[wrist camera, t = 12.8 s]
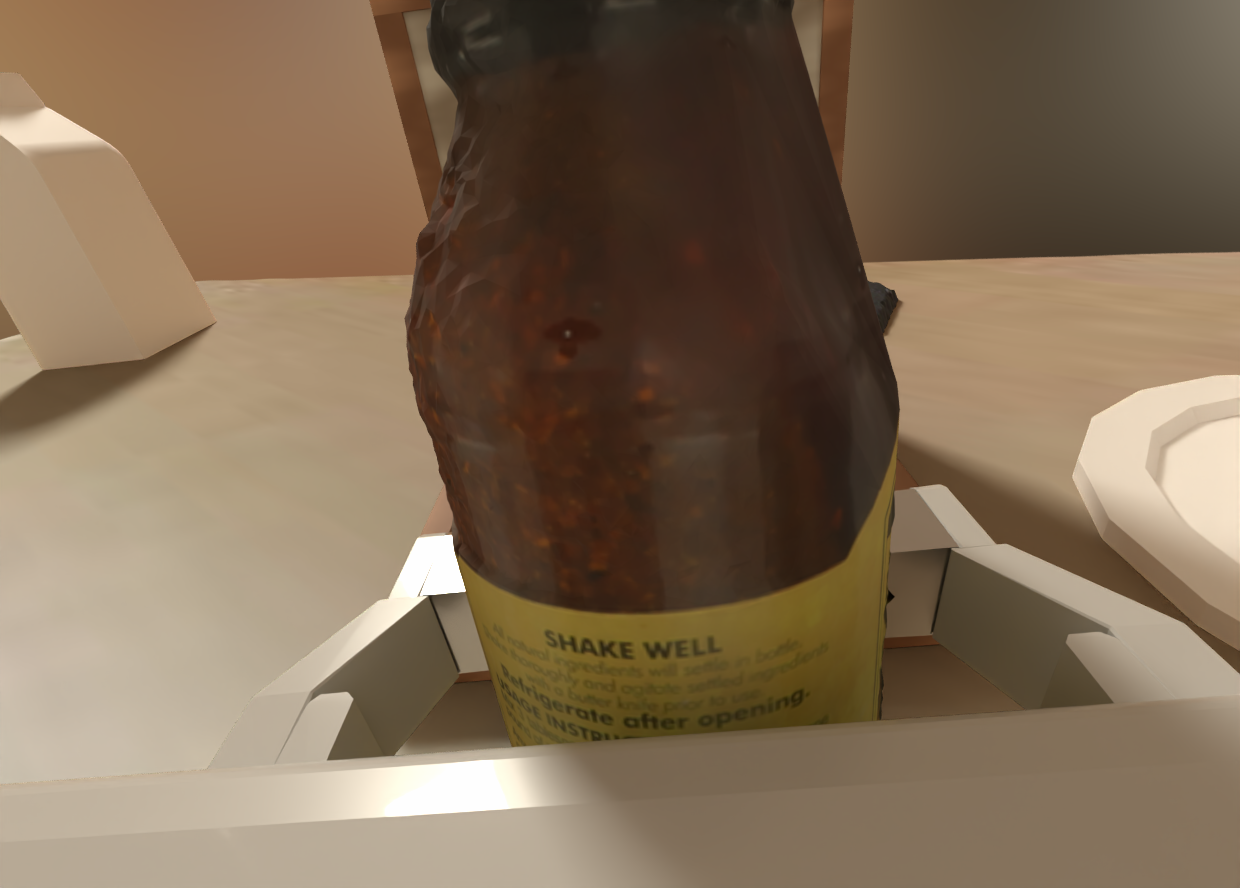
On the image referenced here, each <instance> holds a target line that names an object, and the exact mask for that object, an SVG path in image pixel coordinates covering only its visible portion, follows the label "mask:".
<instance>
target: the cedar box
mask: <svg viewBox="0 0 1240 888" xmlns="http://www.w3.org/2000/svg"><path fill="white" fill-rule="evenodd" d="M853 3H854V0H794V7H793V11H792V19H793V22H794V26H795V29H796V33H797V36H798V39H799V43H800V46H801V49H802V53H803V56H804V60H805V63H806V66H807V70H808V73H809V77H810V80H811V84H812V87H813V91H814V94H815V98H816V101H817V104H818V108H819V111H820V115H821V118H822V122H823V125H824V129H825V132H826V136H827V139H828V143H829V146H830V150H831V153H832V157H833V160H834V164H835V167H836V171H837V174H838V178H839V181H840V185H841V182H842V166H843V151H844V137H845V122H846V108H847V93H848V77H849V62H850V48H851V33H852V19H853ZM370 5H371V8H372V12H373V16H374V19H375V23H376V27H377V31H378V34H379V38H380V41H381V46H382V49H383V53H384V57H385V60H386V64H387V68H388V72H389V75H390V79H391V83H392V87H393V90H394V94H395V98H396V101H397V105H398V109H399V112H400V116H401V120H402V124H403V128H404V131H405V135H406V139H407V143H408V146H409V150H410V154H411V157H412V161H413V165H414V168H415V172H416V176H417V180H418V184H419V187H420V191H421V194H422V198H423V202H424V206H425V209H426V213H427V217H428V221H429V222H430V216H431V209H432V204H433V202H434V199H435V197H436V195H437V191H438V184H439V181H440V179H441V176H442V174H443V168H444V165H445V163H446V160H447V152H448V149H449V146H450V142H451V139H452V136H453V132H454V128H455V117H456V110H457V105H458V101H457V99H456V97H455V96H454V94H453V92H452V91H451V89H450V88H449V87H448V85H447V84H446V83H445V82H444V81H443V79H442V78H441V77H440V76H439V74H438V73H437V72H436V71H435V70H434V66H433V63H432V60H431V56H430V53H429V50H428V42H427V32H426V27H427V25H428V23H429V21H430V16H431V10H432V8H431V4H430V0H370ZM914 487H919V485H918V484H917V483H916V481H915V480H914V479H913V478H912V476H911V475H910V474H909V473H908V471H907V470H906V469H905V468H904V466H903V465H902V464H901V463H900V461H899V460H898V459H897V460H896V482H895V490H894V491H896V490H905V489H910V488H914ZM452 521H453V512H452V510H451V508H450V505H449V502H448V500H447V496H446V488H445V484H444V486H443V488H442V490H441V492H440V494H439V496H438V498H437V501H436V503H435V505H434V507H433V509H432V511H431V513H430V516H429V518H428V520H427V522H426V524H425V526H424V528H423V531H422V533H421V535H424V534H435V533H449V532H452ZM421 535H420V536H421ZM932 636H933V635H926V636H908V637H890V638H885V639H884V647H883V649H885V648H898V647H910V646H923V645H935V644H940V643H938V642H937V641H936V640H935V639H933V638H932ZM482 680H492V679H491V676H490V672H489V670H487V671H478V672H469V673H460V674H459V677H458V679H457V680H456V681H455V682H454V683H457V682H470V681H482Z"/></svg>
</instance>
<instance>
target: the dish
mask: <svg viewBox="0 0 1240 888" xmlns="http://www.w3.org/2000/svg"><path fill="white" fill-rule="evenodd" d="M1072 478H1073V480H1074V482H1075V484H1076V486H1077V488H1078V491H1079V493H1080V495H1081V497H1082V499H1083V501H1084V503H1085V505H1086V507H1087V509H1088V511H1089V514H1090V516H1091V518H1092V520H1093V522H1094V524H1095V526H1096V528H1097V530H1098V532H1099V534H1100V536H1101V539H1102V540H1104V541H1105V542H1106V543H1107V544H1108V545H1109V546H1110V547H1111V548H1112V549H1113V550H1115V551H1116V552H1117V553H1118V554H1119V555H1120V556H1121V557H1122V558H1123V559H1124V560H1125V561H1127V562H1128V563H1129V564H1130V565H1131V566H1132V567H1133V568H1134V569H1135V570H1136V571H1138V572H1139V573H1140V574H1141V575H1142V576H1143V577H1144V578H1145V579H1146V580H1147V581H1149V582H1150V583H1151V584H1152V585H1153V586H1154V587H1155V588H1156V589H1157V590H1158V591H1159V592H1161V593H1162V594H1163V595H1164V596H1165V597H1166V598H1167V599H1168V600H1169V601H1170V602H1172V603H1173V604H1174V605H1175V606H1176V607H1177V608H1178V609H1179V610H1180V611H1181V612H1182V613H1184V614H1185V615H1186V616H1187V617H1188V618H1189V619H1190V620H1191V621H1192V622H1193V623H1195V624H1196V625H1197V626H1198V627H1200V628H1202V629H1203V630H1205V631H1207V632H1208V633H1210V634H1212V635H1213V636H1215V637H1217V638H1218V639H1220V640H1222V641H1223V642H1225V643H1227V644H1228V645H1230V646H1232V647H1233V648H1235V649H1237V650H1238V651H1240V375H1223V376H1212V377H1207V378H1201V379H1196V380H1191V381H1186V382H1180V383H1175V384H1170V385H1165V386H1159V387H1154V388H1149V389H1144V390H1140V391H1138V392H1136V393H1134V394H1132V395H1131V396H1129V397H1127V398H1125V399H1124V400H1122V401H1120V402H1118V403H1116V404H1115V405H1113V406H1111V407H1109V408H1108V409H1106V410H1104V411H1102V412H1100V413H1099V414H1097V415H1095V416H1093V417H1092V420H1091V423H1090V425H1089V428H1088V431H1087V434H1086V437H1085V440H1084V443H1083V446H1082V449H1081V451H1080V454H1079V457H1078V460H1077V463H1076V466H1075V469H1074V473H1073V476H1072Z"/></svg>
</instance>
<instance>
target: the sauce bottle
mask: <svg viewBox="0 0 1240 888" xmlns="http://www.w3.org/2000/svg"><path fill="white" fill-rule="evenodd" d="M430 4H431V8H432V10H431V16H430V21H429V23H428V25H427V27H426V32H427V42H428V50H429V53H430V56H431V60H432V63H433V66H434V70H435V71H436V72H437V73H438V74H439V76H440V77H441V78H442V79H443V81H444V82H445V83H446V84H447V85H448V87H449V88H450V89H451V91H452V92H453V94H454V96H455V97H456V99H457V101H458V105H457V110H456V117H455V128H454V132H453V136H452V139H451V142H450V146H449V149H448V152H447V160H446V163H445V165H444V168H443V174H442V176H441V179H440V181H439V184H438V191H437V195H436V197H435V199H434V202H433V204H432V209H431V216H430V222H429V223H428V224H427V225H426V227H425V228H424V229H423V230H422V231H421V232H420V234H419V237H418V240H417V243H416V250H417V251H416V252H417V260H416V268H415V273H414V280H413V288H412V295H411V299H410V306H409V309H408V311H407V314H406V316H405V324H406V330H407V350H408V360H409V370H410V372H411V374H412V376H413V387H414V391H415V395H416V402H417V406H418V410H419V414H420V416H421V418H422V419H423V421H424V423H425V424H426V427H427V430H428V433H429V434H430V436H431V438H432V441H433V447H434V451H435V453H436V456H437V460H438V465H439V473H440V475H441V478H442V480H443V482H444V484H445V488H446V496H447V500H448V502H449V505H450V508H451V510H452V512H453V521H452V544H453V551H454V555H455V558H456V562H457V565H458V569H459V572H460V575H461V579H462V582H463V586H464V589H465V592H466V596H467V599H468V603H469V606H470V609H471V613H472V616H473V619H474V623H475V626H476V629H477V633H478V636H479V639H480V643H481V646H482V649H483V652H484V656H485V659H486V662H487V666H488V669H489V672H490V676H491V679H492V682H493V686H494V689H495V692H496V696H497V699H498V702H499V706H500V709H501V712H502V716H503V719H504V722H505V726H506V729H507V732H508V736H509V739H510V742H511V746H512V747H520V746H534V745H548V744H562V743H575V742H589V741H603V740H616V739H630V738H644V737H657V736H671V735H685V734H699V733H712V732H726V731H740V730H753V729H767V728H781V727H794V726H808V725H822V724H836V723H850V722H864V721H878V720H881V704H882V700H883V696H882V689H883V686H884V684H883V676H882V667H881V662H882V655H883V647H884V639H885V634H886V629H887V610H886V602H887V597H888V594H889V590H888V572H889V556H890V542H891V529H892V525H893V522H894V518H895V496H894V490H895V482H896V460H897V444H898V428H899V412H900V408H899V398H898V388H897V381H896V378H895V375H894V372H893V369H892V365H891V362H890V358H889V355H888V351H887V348H886V344H885V340H884V337H883V333H882V330H881V326H880V323H879V319H878V316H877V312H876V309H875V305H874V302H873V298H872V294H871V291H870V287H869V284H868V280H867V277H866V273H865V270H864V266H863V263H862V259H861V256H860V252H859V248H858V245H857V241H856V238H855V235H854V231H853V227H852V224H851V220H850V217H849V213H848V210H847V207H846V203H845V199H844V196H843V192H842V189H841V185H840V181H839V178H838V174H837V171H836V167H835V164H834V160H833V157H832V153H831V150H830V146H829V143H828V139H827V136H826V132H825V129H824V125H823V122H822V118H821V115H820V111H819V108H818V104H817V101H816V98H815V94H814V91H813V87H812V84H811V80H810V77H809V73H808V70H807V66H806V63H805V60H804V56H803V53H802V49H801V46H800V43H799V39H798V36H797V33H796V29H795V26H794V22H793V19H792V11H793V7H794V0H430Z"/></svg>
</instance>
